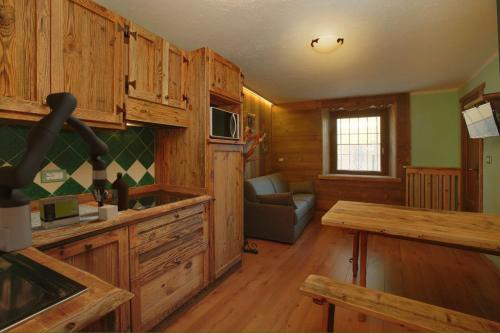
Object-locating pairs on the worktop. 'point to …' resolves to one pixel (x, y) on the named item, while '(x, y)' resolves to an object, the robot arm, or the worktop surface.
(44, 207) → the tea box
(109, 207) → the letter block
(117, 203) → the olive oil
